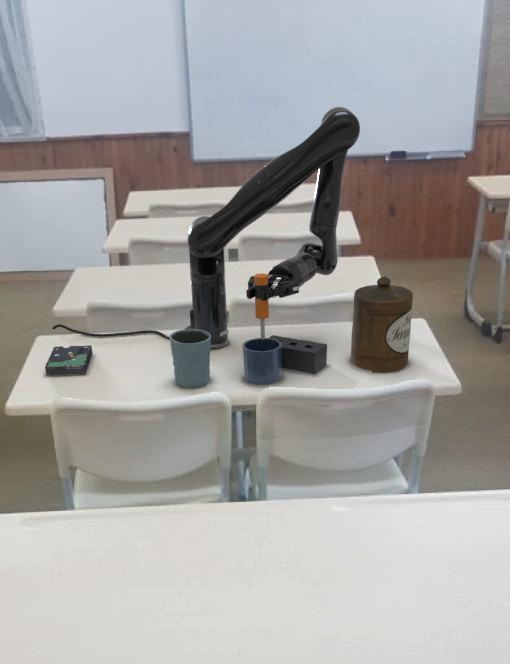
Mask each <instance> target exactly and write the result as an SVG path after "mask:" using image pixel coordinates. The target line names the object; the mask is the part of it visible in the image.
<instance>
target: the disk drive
mask: <svg viewBox="0 0 510 664" xmlns="http://www.w3.org/2000/svg"><path fill="white" fill-rule="evenodd" d="M92 356H93V347H92V345H90V344H89V345H88V344H87V345H70V346H68V347H64V346H60V345H59V346H53V348H52V351H51V353H50V355H49V357H48V359H47V362H46V364H45V365H44V368H45V369H44V370H45V375H46V376H52V377H53V376H54V377H55V376H77V375H86V374H87V370H88V368H89V365H90V362H91V359H92Z"/></svg>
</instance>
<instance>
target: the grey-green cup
mask: <svg viewBox="0 0 510 664" xmlns="http://www.w3.org/2000/svg"><path fill="white" fill-rule="evenodd" d="M169 337H170V340H169V344H170V351H171V356H172V365H173V374H174V375H173V376H174V382H175V383H176V385H177V386H178V387H180V388H184V389H197V388H203V387H205V386H206V385H209V382H210V379H211V378H210V375H211V369H210V368H211V367H210V365H211V361H210V360H211V357H210V356H211V349H210V346H211V335H210V333H208V332H207V331H204V330H200V329H185V328H184V329H178V330H176V331H174V332H172V333H170V335H169Z"/></svg>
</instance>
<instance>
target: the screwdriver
mask: <svg viewBox="0 0 510 664" xmlns="http://www.w3.org/2000/svg"><path fill="white" fill-rule="evenodd" d="M253 276H254V288H255V297H254V310H255V312H254V313H255V318H256V319H258V320H259V321H260V323H259V325H260V338H261V339H265V338H266V326H265V320H266V319H268V318H269V317H270V310H269V308H270V307H269V305H270V304H269V299H268V300H266V301H262V298H261V293H262V291H264V290H266V289H267V288H268V273H256V274H254V275H253Z"/></svg>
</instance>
